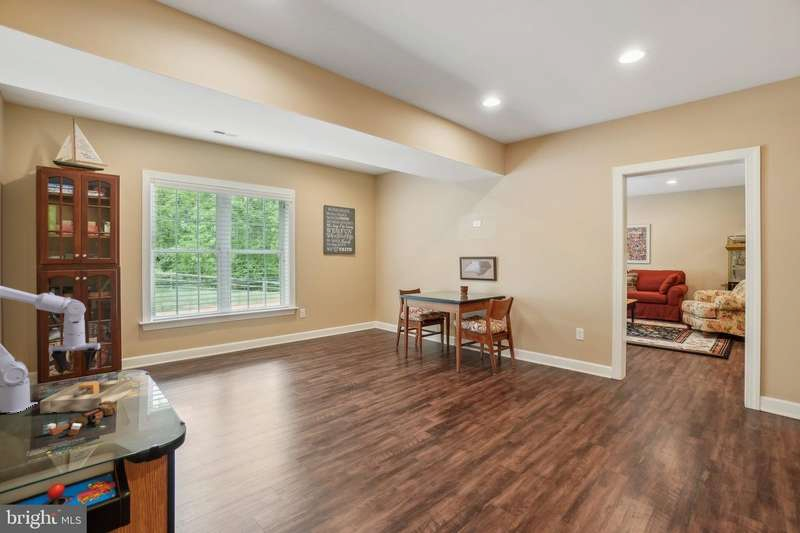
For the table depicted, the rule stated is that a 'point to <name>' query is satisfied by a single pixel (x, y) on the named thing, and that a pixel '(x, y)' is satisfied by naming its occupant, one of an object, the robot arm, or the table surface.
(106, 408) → the character figurine
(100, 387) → the rectangular frame
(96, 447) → the table surface
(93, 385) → the bracket
